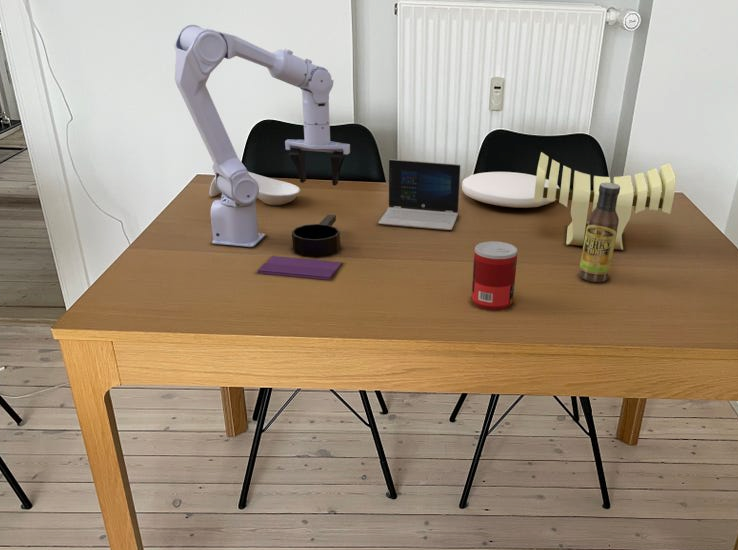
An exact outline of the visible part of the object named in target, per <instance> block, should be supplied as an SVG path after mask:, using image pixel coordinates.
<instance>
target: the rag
mask: <svg viewBox="0 0 738 550" xmlns="http://www.w3.org/2000/svg"><path fill="white" fill-rule="evenodd" d="M342 264H343V263H342V262H339V261H327V260H320V259H319V260H318V259H307V258H296V257H287V256H276V255H275V256H274V255H273V256H271V258H269V260H267V262H264V263H263V264H262V265H261V267H259V268H258V269H257V274H261V275H271V276H282V277H292V278H302V279H312V280H313V279H314V280H324V281H330V280H331V279H332V278H333V276H334V275H335V274H336V272H337V271H338V270H339V268H340V266H341V265H342Z"/></svg>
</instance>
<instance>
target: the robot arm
mask: <svg viewBox="0 0 738 550" xmlns="http://www.w3.org/2000/svg"><path fill="white" fill-rule="evenodd" d="M173 47H174V51H175V64H174V65H175V66H174V67H175V68H174V81H175V84H176V87H177V88H178V90H179V92H180V95H181V97H182V99H183V101H184V103H185V105H186V107H187V110H188V112H189V114H190V116H191V118H192V120H193V122H194V125H195V127H196V129H197V131H198V133H199V135H200V137H201V139H202V141H203V143H204V146H205V148H206V150H207V152H208V154H209V156H210V159H211V161H212V163H213V164H212V170H213V173H214V178H215V184H216V187H217V189H218V190H219V191H220V193H221V197H220V199H215V200H213V202H212V204H211V206H210V223H211V224H210V225H211V231H212V232H211V233H212V239H213V240H212V241H211V243H212V244H213V245H221V246H222V245H223V246H233V247H243V248H254V247H255V246H256V245H257V244H258V243H260V241H262V240H263V239H264V238H265V237H266V233H262V232H259V224H258V214H257V213H258V212H257V202H256V200H257V199H258V198H257V197H258V194H259V186H258V183H257V181H256V180H255V179H254V178H252V177H251V176H250V175H249V173H248V172H249V171H248V169H247V167H246V166H245V164H243V162H242V161H241V159H240V158H239V157H238V155H237V152H236V150H235V148H234V146H233V142H231V141H232V140H231V138H230V136H229V134H228V132H227V129H226V128H225V125H224V123H223V121H222V119H221V117H220V114H219V112H218V110H217V108H216V105H215V103H214V101H213V99H212V96H211V94H210V92H209V89H208V88H207V82H208V80H209V78H210V75H211V73H212V72H213V71H214V70H215V69H217V67H218V66H219V65H220V64H221V63H222V62H223V60H224V59H226V60H230V59H233V58H235V57H237V58H240V59H243V60H246V61H248V62H251V63H254V64H256V65H259V66H262V67H264V68H266V69H267V70H268V72H269V74H270V76H271V77H272V78H274V79H276V80H279V81H281V82H284V83H286V84H288V85H291V86H293V87H296V88H300V90H301V97H302V98H301V99H302V113H303V114H302V116H303V117H302V118H303V135H304V136H303V137H304V139H288V138H287V139H286V140H285V141H284V145H285V151H289V153H288V157H289V158H290V159H291V162H292V164H293V165H294V167H295V169H296V171H297V175H298V178H299V182H300V183H301V184H303V183H305V182H306V181H307V172H306V171H307V170H306V156H307V155H306V152H307V151H308V152H319V153H321V152H322V153H333V154H331V155H330V157H329V158H330V163H331V171H332V173H331V174H332V175H331V176H332V177H331V181H332V182H331V183H332V186H337V185H338V184H339V177H340V173H341V169H342V167H343V163H344V161H345V159H346V157H347V155H349V154H350V153H351V144H350V143H343V142H337V141H331V127H330V125H331V124H330V121H331V120H330V93H331V91H332V89H333V86H334V79H332V74H331V72H329V70H328V69H327V68H325V67H322V66H320V65H316V64H313V60H311V59H309V58H305V59H304V58H301V57H299V56H296V55H294V51H292V50H290V49H287V48H284V50H283V49H278V50H276V51H274V52H271V51H268V50H267V49H264V48H262V47H260V46H258V45H256V44H253V43H251V42H249V41H248V40H245V39H243V38H241V37H239V36H236V35H234V34H230V33H226V32H222V31H217V30H214V29H210V28H204V27H201V26H199V25H196V24H188V25H186V26H184V27H183V28H182V29H180V31H179V33H178V35H177V37H176V39H175V42H174V43H173Z"/></svg>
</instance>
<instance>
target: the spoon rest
mask: <svg viewBox="0 0 738 550" xmlns="http://www.w3.org/2000/svg"><path fill="white" fill-rule="evenodd" d="M248 173H249V175H250V176H251V177H252V178H254V179H255V180H256V181H257V183H258V186H259V194H258V197H257V199H259V200H260V201H261V202H263V203H264V204H266V205H269V206H283V205H286V204H288V203H290V202H292V201H294V200H295V199H296V198H297V197H298V196H299V194H300V192H301V188H300V187H299V186H298V185H296V184H293V183H290V182H287V181H284V180H279V179H275V178H272V177H271V178H270V177H267V176H264V175H260V174H257V173H254V172H252V171H251V172H250V171H248ZM220 193H221V192H220V191H219V190H218V189H217V187H216V184H215V177H213V179H212V181H211V183H210V186H209V197H216V196H217V195H219V194H220Z"/></svg>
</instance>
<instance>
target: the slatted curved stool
mask: <svg viewBox="0 0 738 550" xmlns="http://www.w3.org/2000/svg"><path fill="white" fill-rule="evenodd" d="M548 165H549V156H548V155H547V154H545V153H544V152H543V151H541V152H540V155H539V160H538V164H537V169H536V175H535V176H536V185H535V195H534V202H536V201H542V200H543V198H547V201H553V202H556V200H559V201H558V203H559V204H561V205H563V206H564V207H566V208H568V203H569V201H571V204H570V214H569V215H570V217H571V221H570V223H569V224H568V226H567V227H566V228H567V229H566V242H565V243H566V245H567V246H578V247H579V246H580V247H583V246H584V240H585V234H586V228H587V226H588V214H589V213H588V212H589V207H590V203H591V209H590V214H591V213H592V212H593V210H594V209H595V208H596V207H597V202H598V197H599V186H600V184H601V183H611V176H599V175H593V184H592V185H593V191H591V174H588V173H584V172H581V171H579V170H574V173H573V183H572V184H573V185H572V186H573V187H572V189H570V188H571V187H570V186H571V174H572V168H570V167H568V166H566V165H563V168H562V173H561V175H562V176H561V181H560V182H561V184H560V189H558V188H557V185H558V181H559V171H560V162H558V161H556V160H554V159H553V158H552V159H551V164H550V169H549V170H550V171H549V176H548V180H549V184H548V188H547V187H544V186H545V179H547V170H548ZM676 179H677V178H676V175H675V172H674V169H673V166H672V164H671V162H667V163H665V164H662V165H661V166H660V169H659V171H658V169H657V167H655V168H651V169H650V170H647V172H646V177H645V174H644V171H643V172H639V173H635V174H634V176H633V179H632V175H631V174H628V175H624V176H621V175H620V176H614V177H613V180H612V183H615V184H618V185H619V186H620V192H619V194H618V197H617V203H616V209H615V210H616V213H617V215H618V218H619V223H618V227H617V235H616V240H615V245H614V250H620V251H623V250H624V245H623V233H624V230H625V228H626V226H627V225H628V223H629V221H630V220H631V214H632V208H633V210H634V214H638V213H640V212H643V211H645V210H646V208H648V210H649V211H659V209H660V210H661V213H666V214H668V215H671V213H672V209H673V208H672V207H673V203H674V199H675V198H674V197H675V193H676V183H677V180H676ZM632 180H633V181H632ZM633 184H634V187H633ZM555 199H556V200H555Z"/></svg>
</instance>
